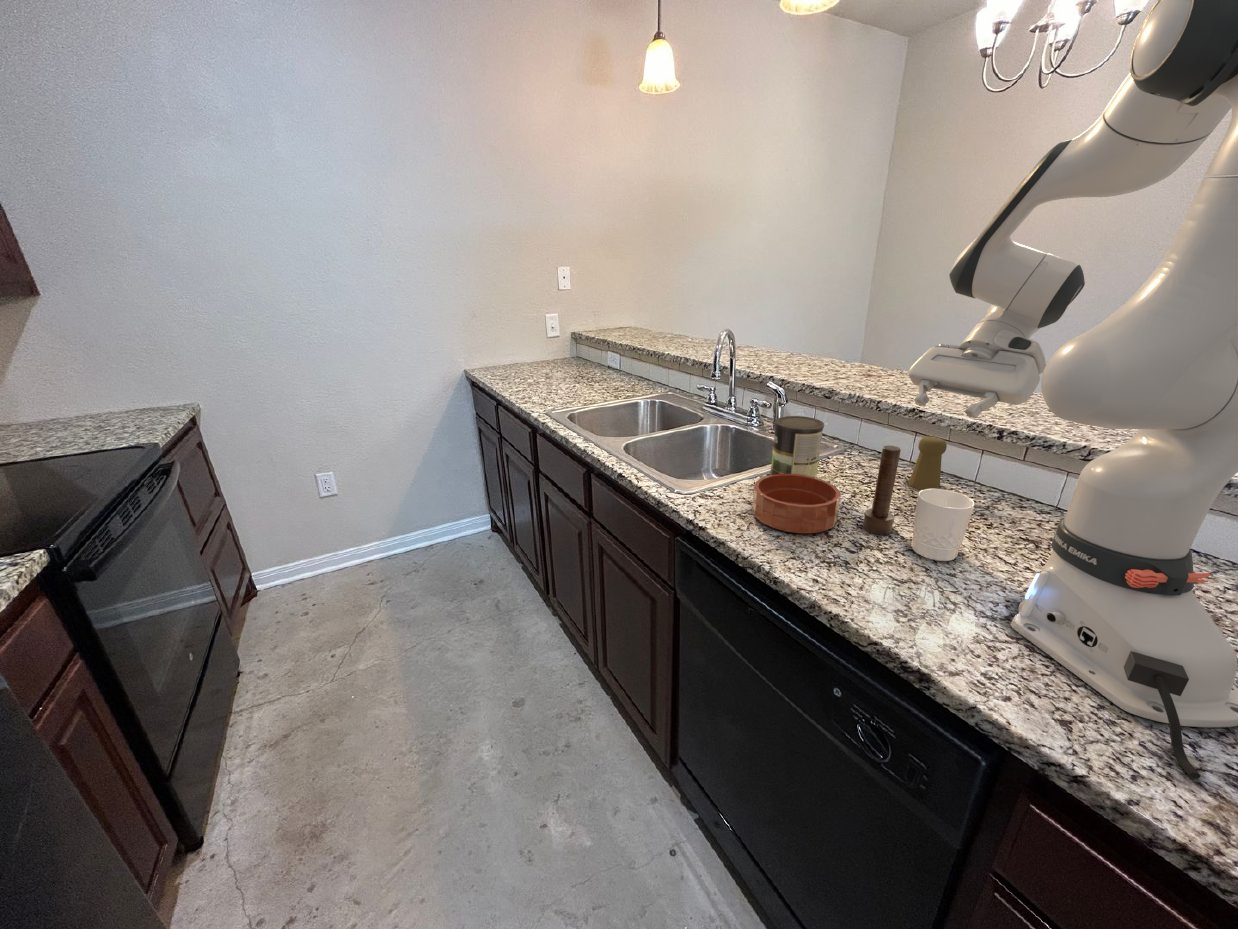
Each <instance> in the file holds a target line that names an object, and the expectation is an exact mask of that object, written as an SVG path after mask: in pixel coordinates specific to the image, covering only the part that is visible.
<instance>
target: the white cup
mask: <svg viewBox="0 0 1238 929" xmlns="http://www.w3.org/2000/svg"><path fill="white" fill-rule="evenodd" d="M916 498H917V499H916V504H915V505H916V506H915V510H914V518H913V527H912V528H913V529H912V536H911V537H912V538H911V544H910V545H911V549H912V550H913V551H914V552H915V553H916V554H918V555H919V556H922V557H924V558H926V559H929V560H933V561H939V562H948V561H954V560H955V559H956V558H957V557H958V556H959V552H960V548H961V545H962V543H963V541H964V538H965V536H966V533H967V530H968V526H969V524H970V521H971V518H972V515H973V512H974V508H975V505H976V503H975V501H974V499H972V498H971V497H969V496H967V495H965V494H963V493H961V492H957V491H954V490H950V489H943V488H940V489H924V490H920V491H918V492H917V497H916Z"/></svg>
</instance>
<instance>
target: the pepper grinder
mask: <svg viewBox="0 0 1238 929" xmlns="http://www.w3.org/2000/svg"><path fill="white" fill-rule="evenodd" d="M947 444H948V443H947V442H946V440H944V439H942V438H941V437H937V436H925V437H922V438H921V439H920V440H919V442H918V446H917V447H918V450H919V454H918V456H917V459H916V462H915V463H914V467H913V469H912V472H911V475H910V478H909V481H908V485H909V486H910V487H912V488H915V489H918V490H920V491H921V490H924V489H941V472H942V457H943V454H945V453H946V451H947V448H948V446H947Z"/></svg>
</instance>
